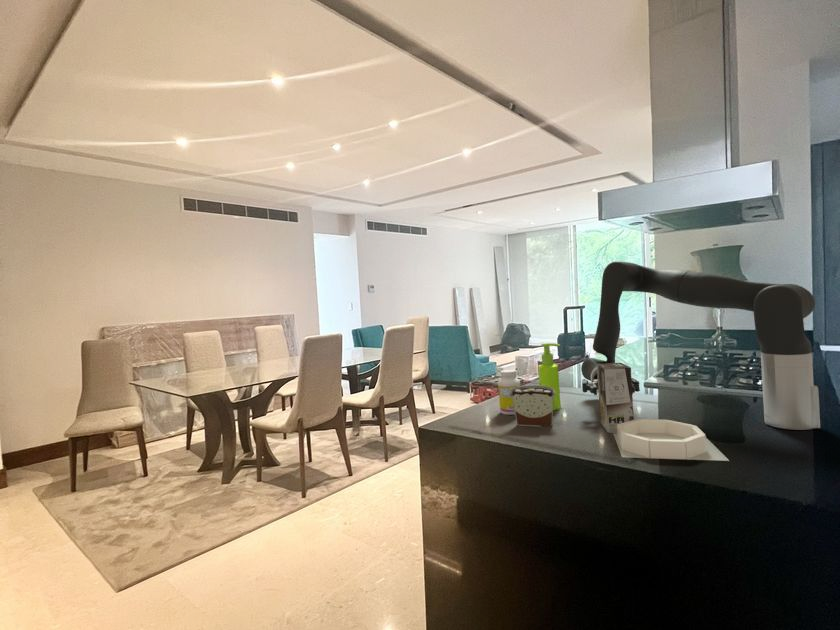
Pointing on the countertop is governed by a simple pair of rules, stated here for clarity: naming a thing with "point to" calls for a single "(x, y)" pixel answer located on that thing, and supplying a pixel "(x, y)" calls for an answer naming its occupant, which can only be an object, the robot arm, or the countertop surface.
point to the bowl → (661, 438)
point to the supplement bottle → (507, 391)
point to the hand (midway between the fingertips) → (613, 390)
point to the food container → (533, 405)
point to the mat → (709, 455)
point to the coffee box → (614, 395)
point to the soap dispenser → (550, 373)
